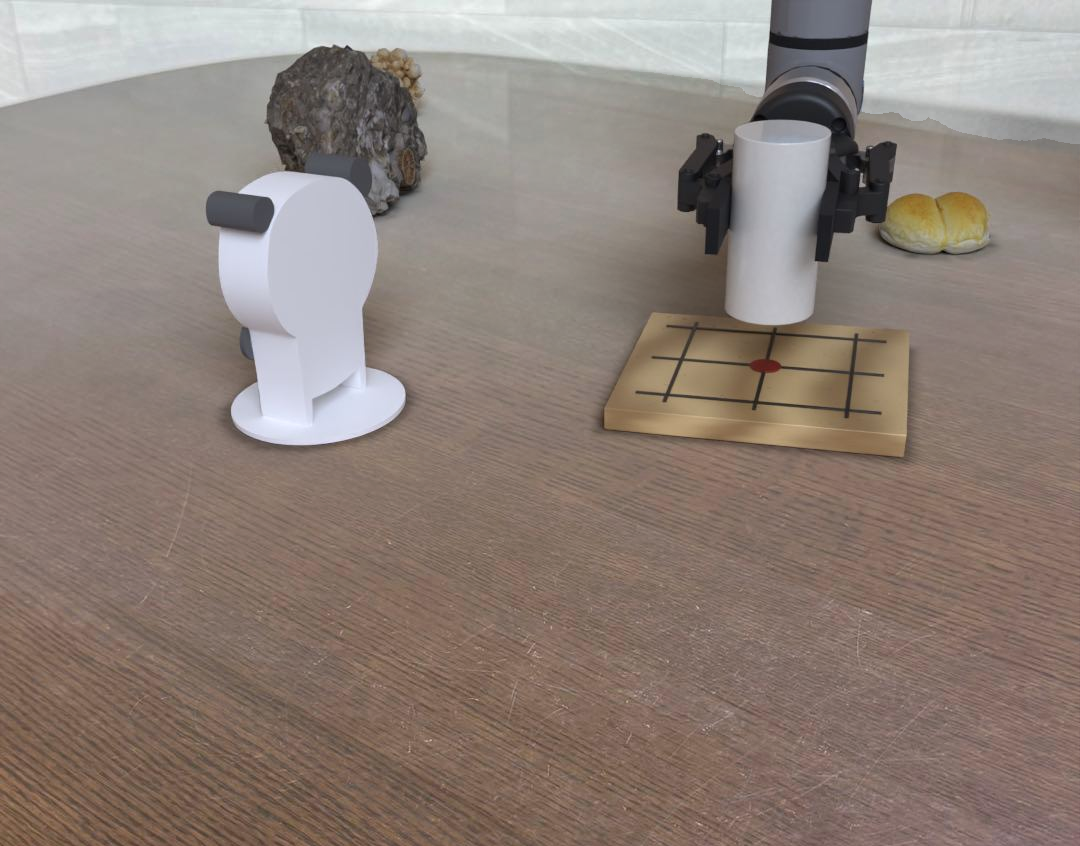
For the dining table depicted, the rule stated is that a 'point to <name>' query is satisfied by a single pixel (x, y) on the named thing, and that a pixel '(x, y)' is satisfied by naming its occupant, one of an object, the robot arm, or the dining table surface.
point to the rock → (348, 119)
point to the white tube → (775, 220)
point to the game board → (766, 384)
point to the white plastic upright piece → (304, 302)
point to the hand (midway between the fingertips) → (767, 235)
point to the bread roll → (937, 223)
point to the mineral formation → (401, 70)
